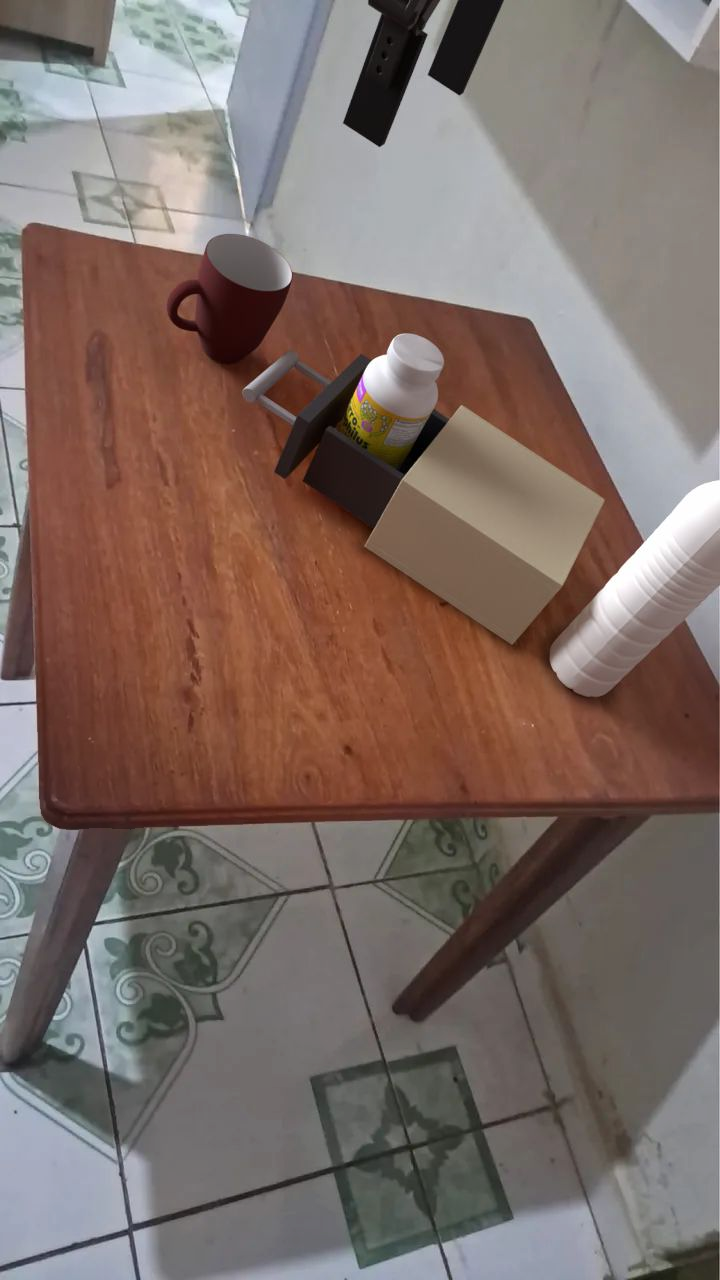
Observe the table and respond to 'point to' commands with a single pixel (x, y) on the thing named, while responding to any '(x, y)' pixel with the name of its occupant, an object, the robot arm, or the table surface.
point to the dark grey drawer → (337, 441)
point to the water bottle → (644, 597)
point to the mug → (234, 296)
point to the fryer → (486, 525)
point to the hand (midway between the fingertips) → (407, 107)
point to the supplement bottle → (394, 399)
